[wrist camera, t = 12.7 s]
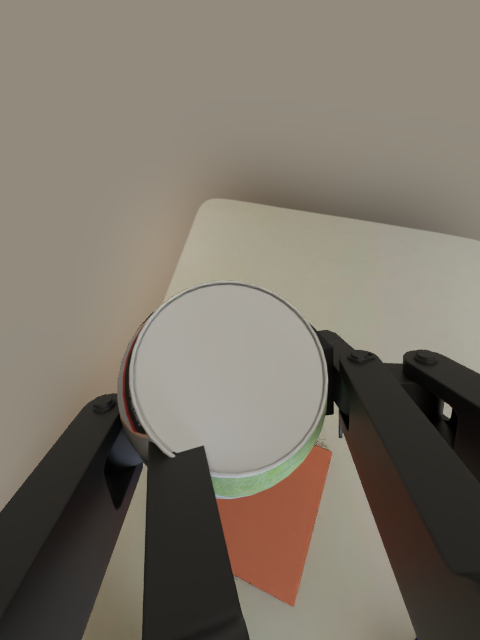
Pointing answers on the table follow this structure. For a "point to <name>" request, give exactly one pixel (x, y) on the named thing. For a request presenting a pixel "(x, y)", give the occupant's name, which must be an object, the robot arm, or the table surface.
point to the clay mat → (275, 528)
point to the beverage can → (226, 384)
